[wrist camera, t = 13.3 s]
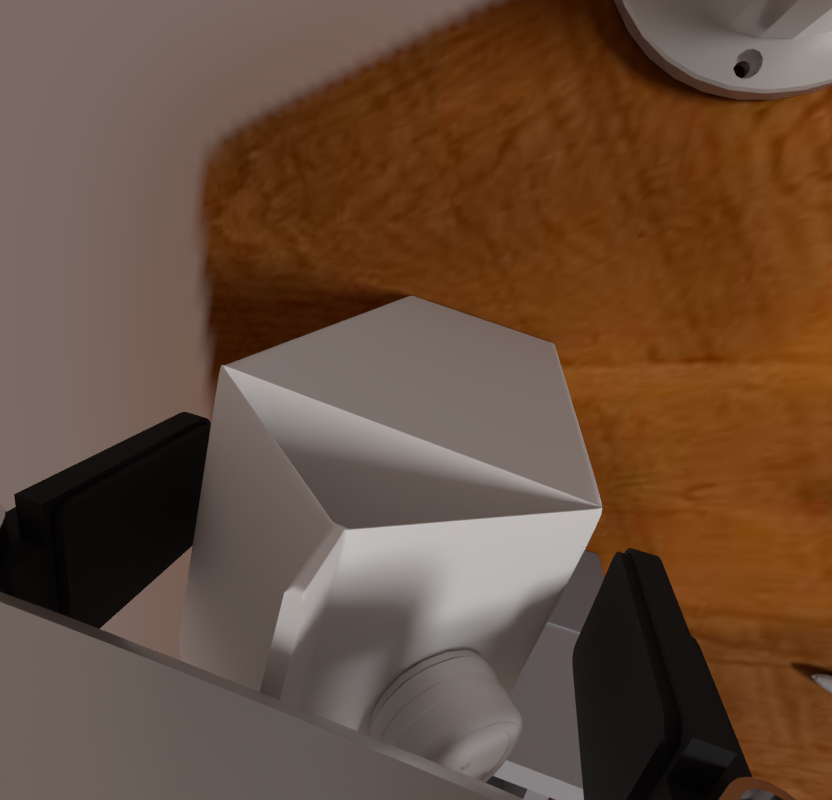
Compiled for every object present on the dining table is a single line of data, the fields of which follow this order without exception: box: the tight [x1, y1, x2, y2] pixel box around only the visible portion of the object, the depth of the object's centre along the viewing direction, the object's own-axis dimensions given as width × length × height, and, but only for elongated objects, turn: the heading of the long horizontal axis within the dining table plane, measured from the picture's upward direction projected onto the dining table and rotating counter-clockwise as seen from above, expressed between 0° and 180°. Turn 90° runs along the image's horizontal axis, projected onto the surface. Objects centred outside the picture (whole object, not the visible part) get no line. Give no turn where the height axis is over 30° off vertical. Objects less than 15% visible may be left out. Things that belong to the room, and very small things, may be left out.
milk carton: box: [178, 296, 602, 782], centre depth 14 cm, size 7×7×19 cm
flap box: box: [485, 550, 604, 800], centre depth 22 cm, size 15×12×12 cm
